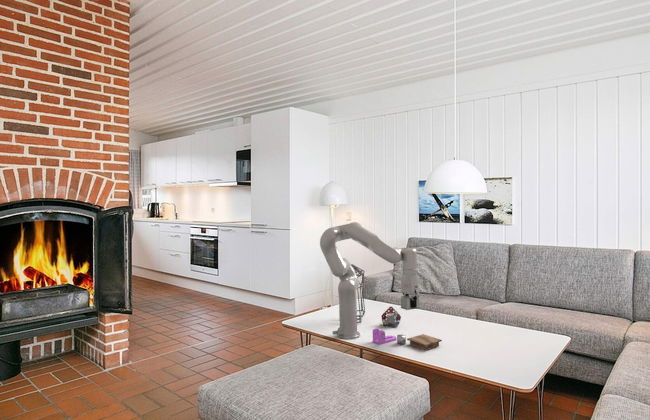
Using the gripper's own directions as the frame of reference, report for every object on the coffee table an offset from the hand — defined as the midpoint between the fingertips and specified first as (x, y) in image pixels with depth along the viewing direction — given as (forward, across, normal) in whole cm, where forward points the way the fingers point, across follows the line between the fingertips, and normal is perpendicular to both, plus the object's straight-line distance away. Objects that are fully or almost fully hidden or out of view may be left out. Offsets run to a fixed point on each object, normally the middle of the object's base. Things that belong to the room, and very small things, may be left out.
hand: (410, 306), depth 220 cm
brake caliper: (+18, -26, +5) cm, 32 cm away
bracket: (+18, -4, -13) cm, 22 cm away
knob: (+18, +3, -8) cm, 20 cm away
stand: (+17, +11, 0) cm, 21 cm away
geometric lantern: (+18, -45, -10) cm, 50 cm away
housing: (+1, 0, 0) cm, 1 cm away
